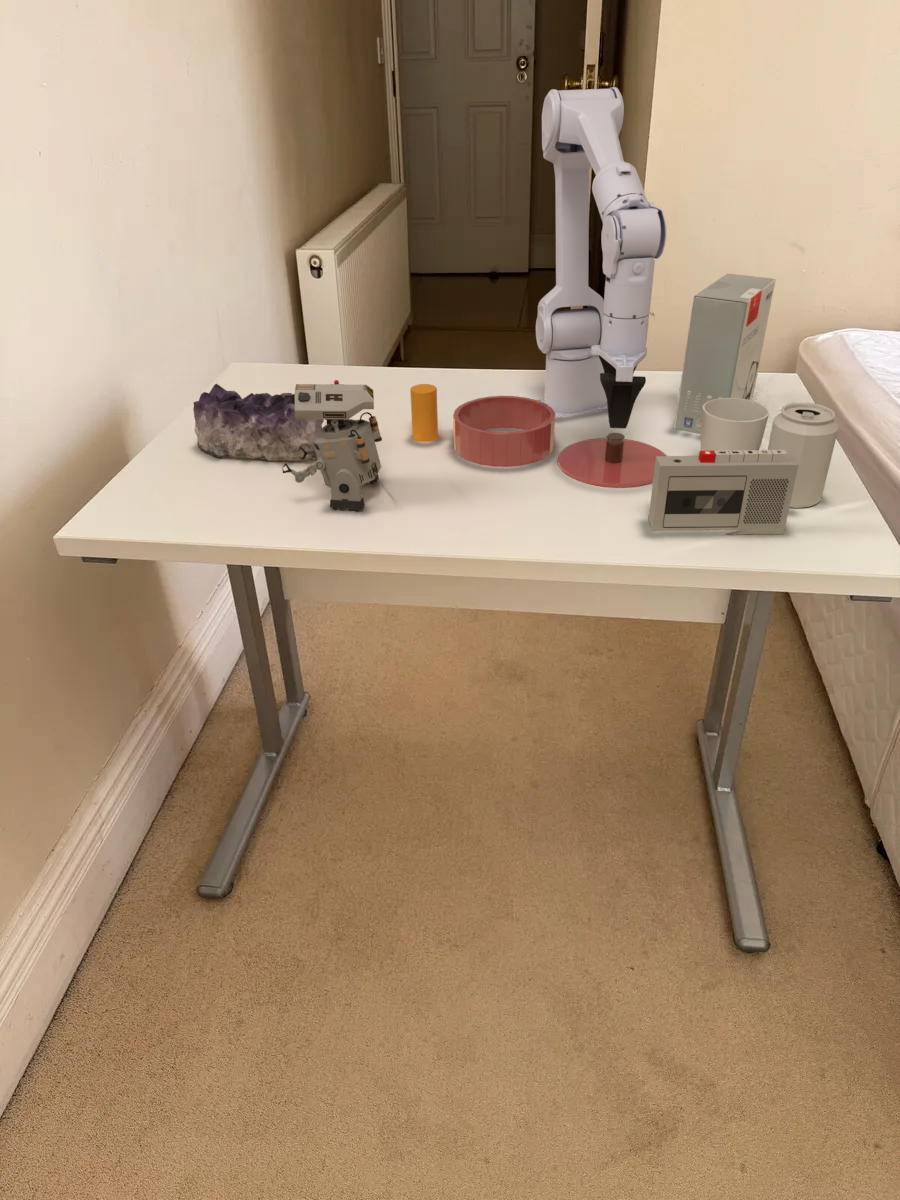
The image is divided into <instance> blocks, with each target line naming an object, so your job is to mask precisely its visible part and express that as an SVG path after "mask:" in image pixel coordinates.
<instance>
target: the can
mask: <svg viewBox="0 0 900 1200" xmlns="http://www.w3.org/2000/svg"><path fill="white" fill-rule="evenodd" d="M836 417H837V414H836V412H835V411H834V410H833V409H831V408H830V407H827V406H825V405H822V404H819V403H813V402H791V403H787V404H785V405H783V406H782V407H781V408H780V413H778V414H777V415H776V416H775V417H774V418H773V420H772V425H771V430H770V435H769V440H768V446H767V450H785V451H786V452H787V455H792V456H793V458H794V459H795V460H796V462H797V463H798V470H797V474H796V479H795V484H794V488H793V493H792V497H791V502H790V506H789V509H790V508H791V509H803V508H805V509H806V508H810V507H812V506H815V505H817V504H818V503H820V502H821V501H822V498H823V494H824V490H825V486H826V481H827V477H828V474H829V469H830V465H831V461H832V458H833V452H834V448H835V444H836V441H837V436H838V433H839V428H840V426H839V424H838V422H837V421H836V420H835V419H836Z"/></svg>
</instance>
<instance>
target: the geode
mask: <svg viewBox="0 0 900 1200" xmlns="http://www.w3.org/2000/svg"><path fill="white" fill-rule="evenodd" d="M293 394H294V393H292V392H283V393H281V394H274V395H271V394H270V393H268V392H262V393H255V394H254V393H252V392H251V393H249V394H248V395H246V396H245V397H243V398H242V396H241V394H239V393H238V392H237V391H235V390H227V389H225V388H224V387H222V386H221V385H219V384H218V383H215V384H214V385H213V386H212V388H211V389H210V391H209V392H206V391H203V392H202V393H201V394H200V396H199V398H198V400H195V401H194V402H193V408H192V409H193V418H194V433H195V435H196V440H197V447H198V449H199V450H201V451H202V452H204V453H205V454H207V455H210V456H212V457H216V458H218V457H222V458H223V457H226V458H227V457H229V458H243V459H244V458H245V459H253V460H267V461H268V462H274V461H281V462H283V461H307V460H308V461H309V460H312V459H313V458H314V459H317V457H315V456H313V455H312V454H310V455H308V454H307V455H306V457H305V458H304V460H302V459H301V458H303V456H304V452H303V451H302V449H300V450H299V447H300V446H301V447H302V448H303V449H304V450H305V451H311V450H312V448H313V443H312V439H313V438H314V437H315V435H316V434H317V433H318V431H319V430H320V429H321V428H323V426H322V425H323V423H325V421H324V420H325V419H295V405H294V404H293V403H292V401H291V397H292V395H293ZM298 450H299V452H298ZM299 456H300V457H301V458H300V457H299Z"/></svg>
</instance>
